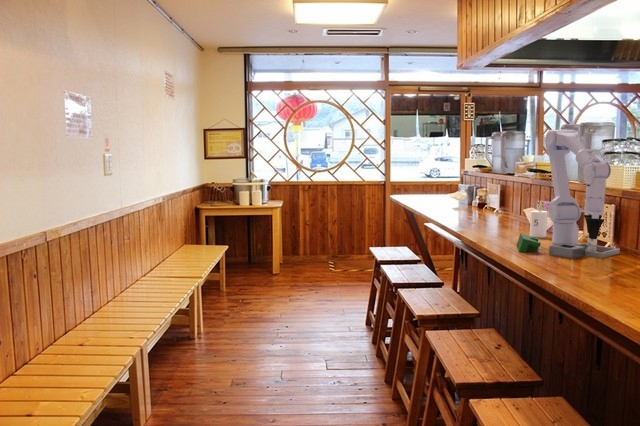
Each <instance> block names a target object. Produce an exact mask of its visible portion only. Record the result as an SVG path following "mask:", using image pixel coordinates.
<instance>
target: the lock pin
mask: <svg viewBox="0 0 640 426" xmlns="http://www.w3.org/2000/svg"><path fill="white" fill-rule="evenodd" d="M598 237H599V236H598ZM598 237H597V239H590V238H589V233H588V232H587V237H586V238H587V239H586V244H587V249H586V248H585V250H586V251H592V252H597V250H596V248H597V246H598Z"/></svg>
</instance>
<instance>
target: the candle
mask: <svg viewBox="0 0 640 426" xmlns="http://www.w3.org/2000/svg"><path fill="white" fill-rule="evenodd" d="M542 208H543V202H542V200H540V201H539V203H538V208H537V209H538V210H531V211H530V225H529V226H530V227H529V236H532V237H535V238H546V237H547V227H548V214H549V211H548V210H547V211H546V210H543V209H542Z"/></svg>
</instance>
